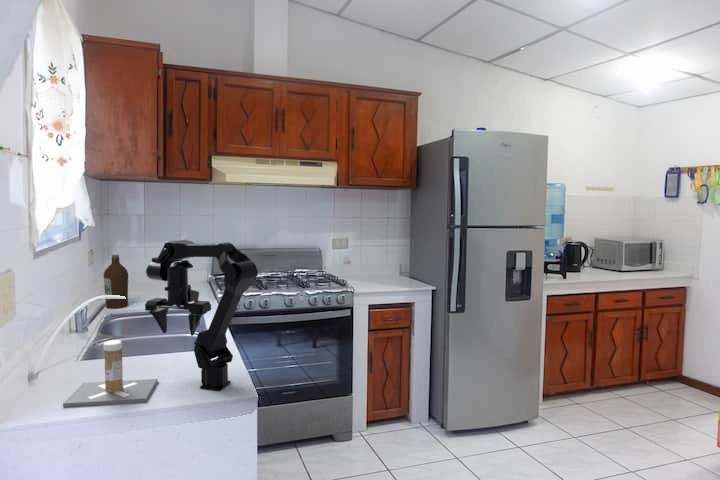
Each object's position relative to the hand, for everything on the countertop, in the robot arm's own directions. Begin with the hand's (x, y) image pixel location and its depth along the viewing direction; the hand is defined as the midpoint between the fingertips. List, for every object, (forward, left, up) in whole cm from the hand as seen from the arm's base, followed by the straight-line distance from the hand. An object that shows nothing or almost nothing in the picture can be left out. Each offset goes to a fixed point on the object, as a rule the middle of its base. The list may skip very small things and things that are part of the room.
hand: (178, 334), depth 147 cm
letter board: (+10, +16, -13) cm, 23 cm away
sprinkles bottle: (+10, +16, -12) cm, 22 cm away
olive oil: (+81, -74, -13) cm, 111 cm away
